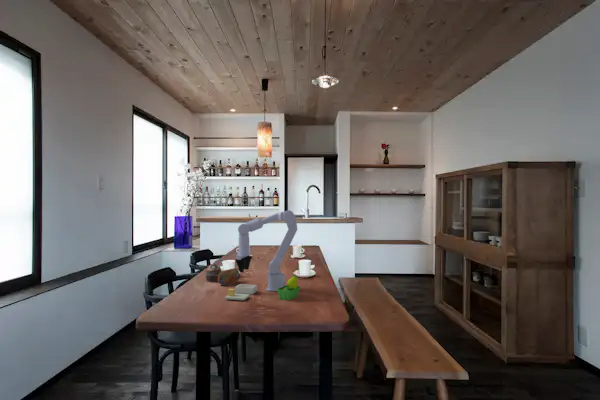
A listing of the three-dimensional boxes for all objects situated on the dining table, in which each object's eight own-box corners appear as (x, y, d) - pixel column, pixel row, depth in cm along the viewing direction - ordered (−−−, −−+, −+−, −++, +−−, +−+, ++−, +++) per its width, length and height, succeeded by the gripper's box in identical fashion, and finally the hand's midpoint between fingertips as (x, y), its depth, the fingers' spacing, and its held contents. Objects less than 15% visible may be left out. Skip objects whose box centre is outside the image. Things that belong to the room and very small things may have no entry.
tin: (220, 286, 201) (220, 271, 201) (216, 285, 203) (216, 271, 203) (240, 281, 213) (240, 267, 213) (236, 280, 215) (236, 267, 215)
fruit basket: (288, 294, 185) (288, 272, 185) (303, 296, 181) (303, 274, 180) (276, 299, 175) (276, 276, 175) (291, 302, 171) (291, 278, 171)
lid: (249, 297, 179) (249, 288, 179) (244, 302, 172) (244, 292, 172) (230, 296, 181) (230, 287, 181) (224, 300, 174) (224, 290, 174)
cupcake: (212, 278, 222) (212, 262, 222) (224, 279, 217) (224, 263, 217) (201, 281, 213) (201, 264, 213) (214, 283, 209) (214, 266, 209)
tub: (256, 291, 190) (256, 284, 190) (252, 294, 184) (252, 287, 184) (239, 290, 192) (239, 284, 192) (235, 293, 186) (235, 287, 186)
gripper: (241, 243, 201) (241, 267, 201) (231, 247, 187) (231, 273, 187) (253, 244, 200) (253, 268, 200) (244, 247, 186) (244, 273, 186)
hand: (244, 270), depth 193 cm, fingers open, 7 cm apart
